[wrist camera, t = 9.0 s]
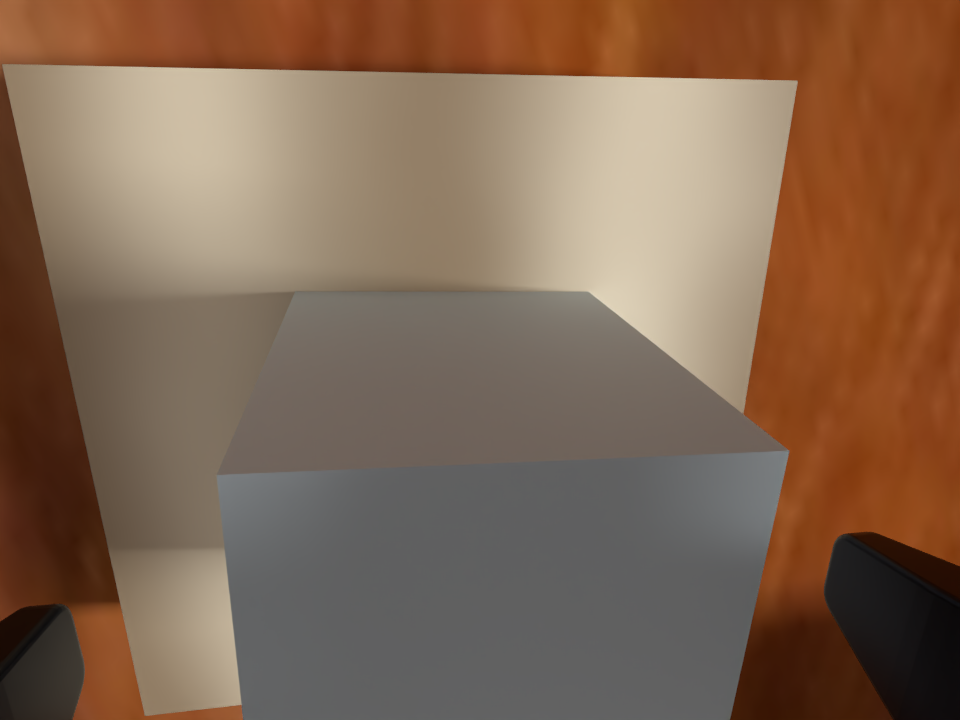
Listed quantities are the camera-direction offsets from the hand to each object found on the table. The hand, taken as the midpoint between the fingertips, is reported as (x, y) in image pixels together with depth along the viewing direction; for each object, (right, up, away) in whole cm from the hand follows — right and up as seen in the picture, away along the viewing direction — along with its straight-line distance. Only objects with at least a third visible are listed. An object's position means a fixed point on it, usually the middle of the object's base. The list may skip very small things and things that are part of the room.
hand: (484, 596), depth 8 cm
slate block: (-1, +2, +4) cm, 5 cm away
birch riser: (-1, +3, +8) cm, 9 cm away
